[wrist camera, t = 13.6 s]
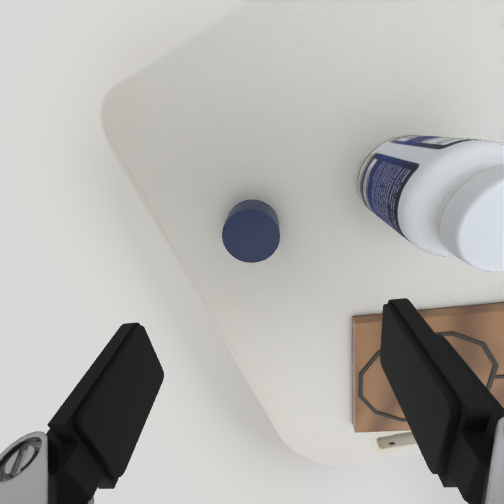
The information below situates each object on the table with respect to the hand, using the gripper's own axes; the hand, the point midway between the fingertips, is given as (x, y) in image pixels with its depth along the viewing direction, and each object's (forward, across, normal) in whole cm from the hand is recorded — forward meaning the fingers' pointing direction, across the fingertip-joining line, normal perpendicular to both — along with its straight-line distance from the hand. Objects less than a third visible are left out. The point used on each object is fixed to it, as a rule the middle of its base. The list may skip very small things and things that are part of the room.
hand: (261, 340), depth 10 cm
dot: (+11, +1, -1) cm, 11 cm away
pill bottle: (+12, -10, -3) cm, 15 cm away
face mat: (+12, -16, +17) cm, 26 cm away
